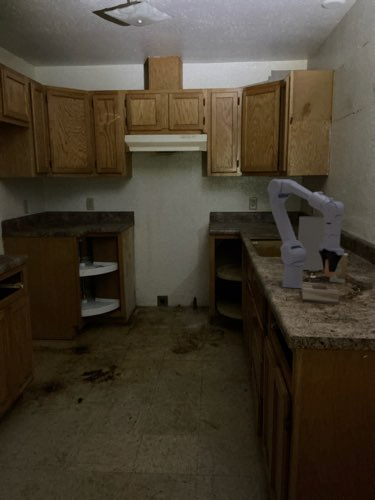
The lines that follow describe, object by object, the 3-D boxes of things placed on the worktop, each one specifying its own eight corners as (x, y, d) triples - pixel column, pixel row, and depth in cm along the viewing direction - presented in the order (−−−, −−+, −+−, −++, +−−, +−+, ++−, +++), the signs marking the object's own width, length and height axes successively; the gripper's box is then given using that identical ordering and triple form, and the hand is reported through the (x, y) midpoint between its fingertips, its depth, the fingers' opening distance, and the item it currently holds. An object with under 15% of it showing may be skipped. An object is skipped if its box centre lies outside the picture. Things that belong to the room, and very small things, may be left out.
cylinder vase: (328, 270, 183) (332, 218, 179) (307, 272, 179) (311, 219, 174) (311, 265, 195) (314, 216, 190) (291, 267, 190) (294, 216, 186)
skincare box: (329, 281, 163) (331, 253, 160) (329, 279, 167) (331, 252, 164) (345, 283, 160) (348, 254, 158) (345, 280, 164) (347, 253, 162)
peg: (326, 274, 145) (327, 258, 144) (335, 275, 143) (336, 259, 142) (323, 275, 142) (324, 260, 141) (332, 277, 140) (334, 261, 139)
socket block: (301, 292, 147) (301, 282, 146) (334, 294, 144) (334, 284, 144) (302, 301, 136) (303, 290, 135) (338, 304, 133) (339, 293, 132)
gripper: (312, 231, 146) (310, 266, 149) (331, 237, 132) (329, 275, 135) (329, 231, 147) (327, 265, 150) (350, 237, 133) (347, 274, 136)
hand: (329, 270), depth 142 cm, fingers closed on peg, 3 cm apart
